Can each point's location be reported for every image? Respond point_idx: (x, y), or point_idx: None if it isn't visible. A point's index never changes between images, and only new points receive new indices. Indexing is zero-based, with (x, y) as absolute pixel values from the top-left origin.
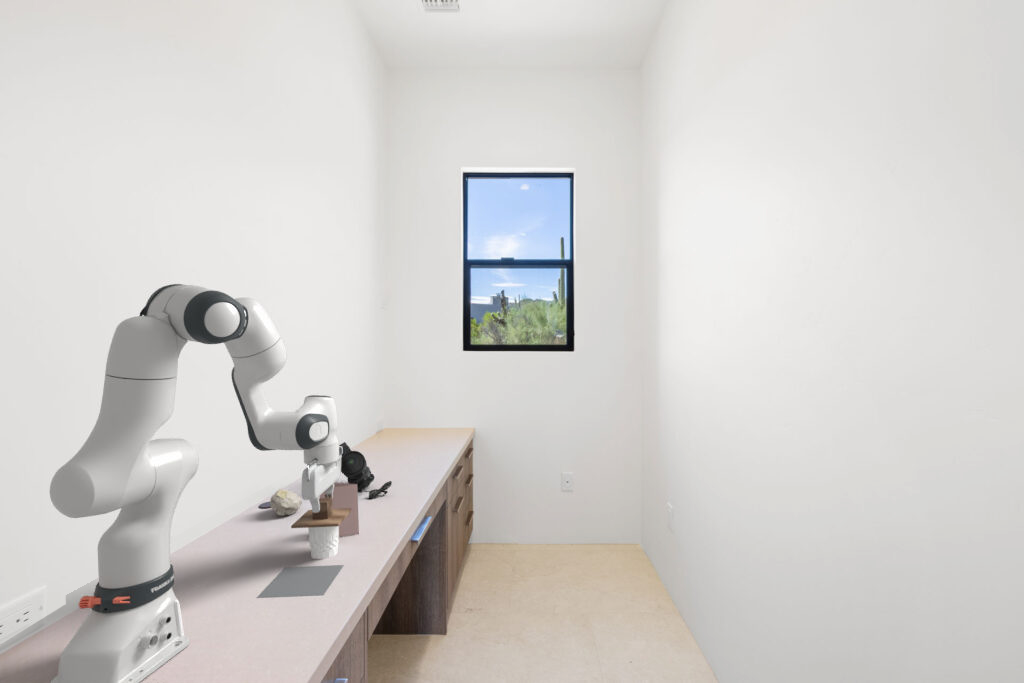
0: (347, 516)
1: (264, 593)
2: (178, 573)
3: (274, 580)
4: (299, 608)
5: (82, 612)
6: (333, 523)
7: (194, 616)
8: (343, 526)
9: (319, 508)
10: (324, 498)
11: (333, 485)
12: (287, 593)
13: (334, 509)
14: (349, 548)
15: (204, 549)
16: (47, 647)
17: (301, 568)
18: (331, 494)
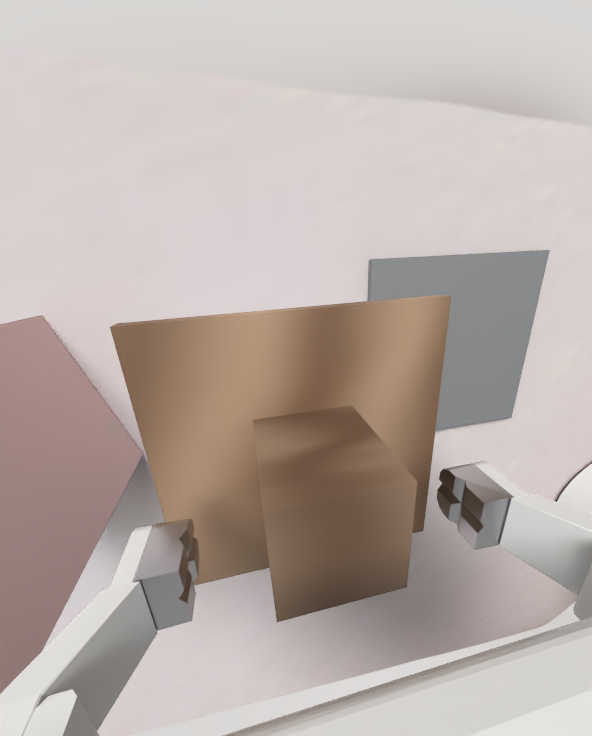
0: (6, 394)
1: (496, 411)
2: (356, 628)
3: (438, 425)
4: (573, 293)
5: (469, 639)
6: (437, 332)
7: (532, 487)
8: (59, 392)
9: (491, 476)
10: (294, 561)
11: (26, 719)
12: (511, 356)
13: (160, 448)
14: (208, 300)
15: (236, 672)
16: (549, 600)
17: None
18: (162, 569)
